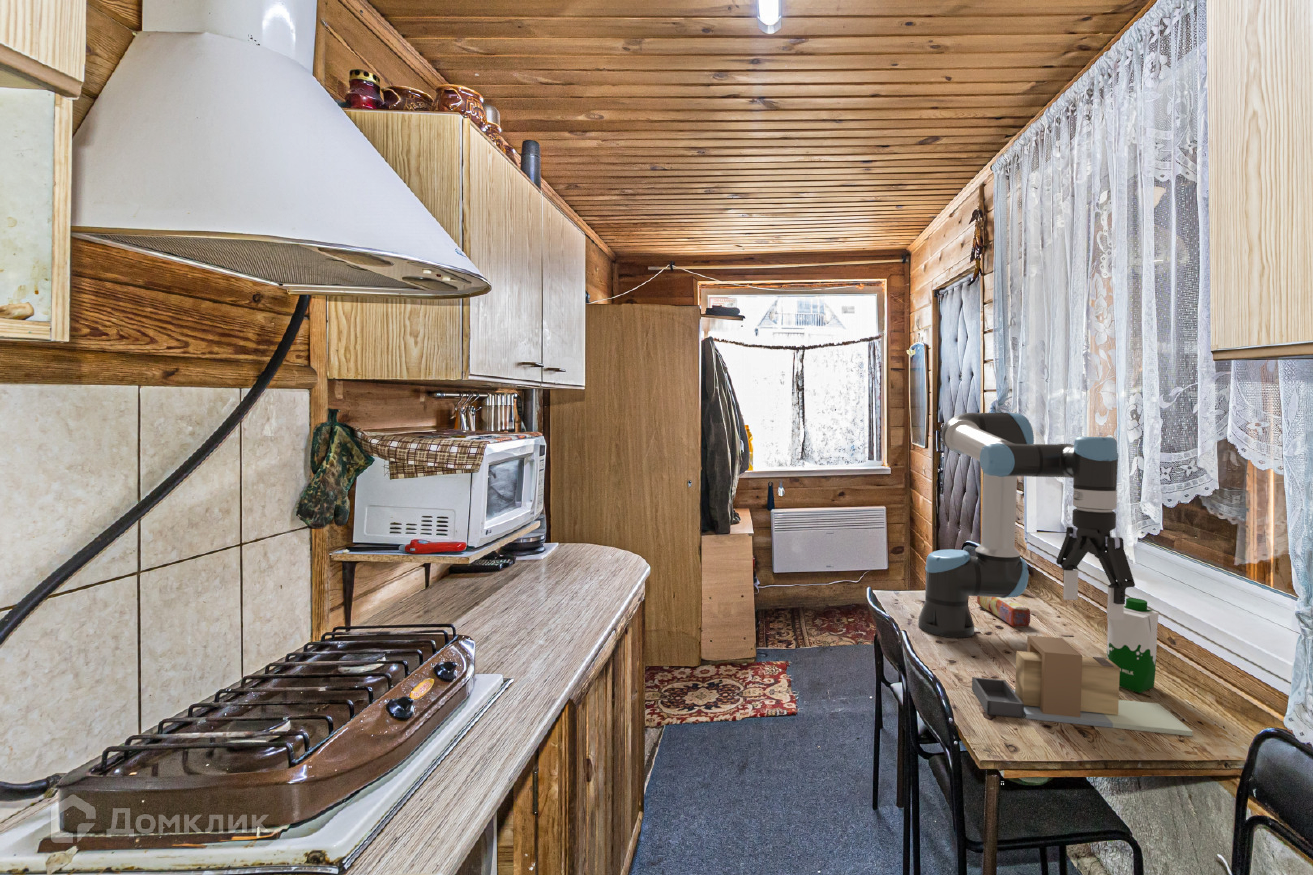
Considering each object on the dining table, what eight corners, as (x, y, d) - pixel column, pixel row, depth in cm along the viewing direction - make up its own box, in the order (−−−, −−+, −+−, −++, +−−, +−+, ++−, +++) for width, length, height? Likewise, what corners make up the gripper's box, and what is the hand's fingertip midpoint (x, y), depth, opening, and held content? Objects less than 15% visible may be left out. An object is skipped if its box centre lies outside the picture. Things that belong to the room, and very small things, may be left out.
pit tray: (971, 689, 142) (972, 677, 142) (1004, 692, 141) (1005, 680, 141) (987, 714, 131) (987, 700, 131) (1023, 718, 129) (1024, 704, 129)
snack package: (1032, 628, 184) (1033, 606, 184) (1010, 628, 184) (1010, 606, 184) (995, 606, 205) (995, 586, 205) (975, 605, 205) (975, 586, 205)
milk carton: (1160, 687, 144) (1163, 603, 143) (1141, 696, 140) (1145, 609, 139) (1117, 673, 152) (1120, 594, 151) (1098, 681, 147) (1101, 599, 146)
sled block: (1015, 694, 137) (1016, 649, 137) (1106, 703, 133) (1108, 657, 133) (1023, 704, 132) (1024, 658, 132) (1118, 714, 128) (1119, 666, 128)
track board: (1007, 693, 141) (1009, 632, 140) (1158, 707, 134) (1160, 644, 133) (1026, 718, 129) (1028, 652, 128) (1192, 736, 122) (1195, 666, 122)
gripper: (1040, 501, 142) (1038, 592, 142) (1119, 518, 117) (1117, 628, 118) (1072, 501, 142) (1070, 592, 142) (1159, 518, 117) (1156, 628, 117)
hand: (1091, 608), depth 130 cm, fingers open, 13 cm apart
